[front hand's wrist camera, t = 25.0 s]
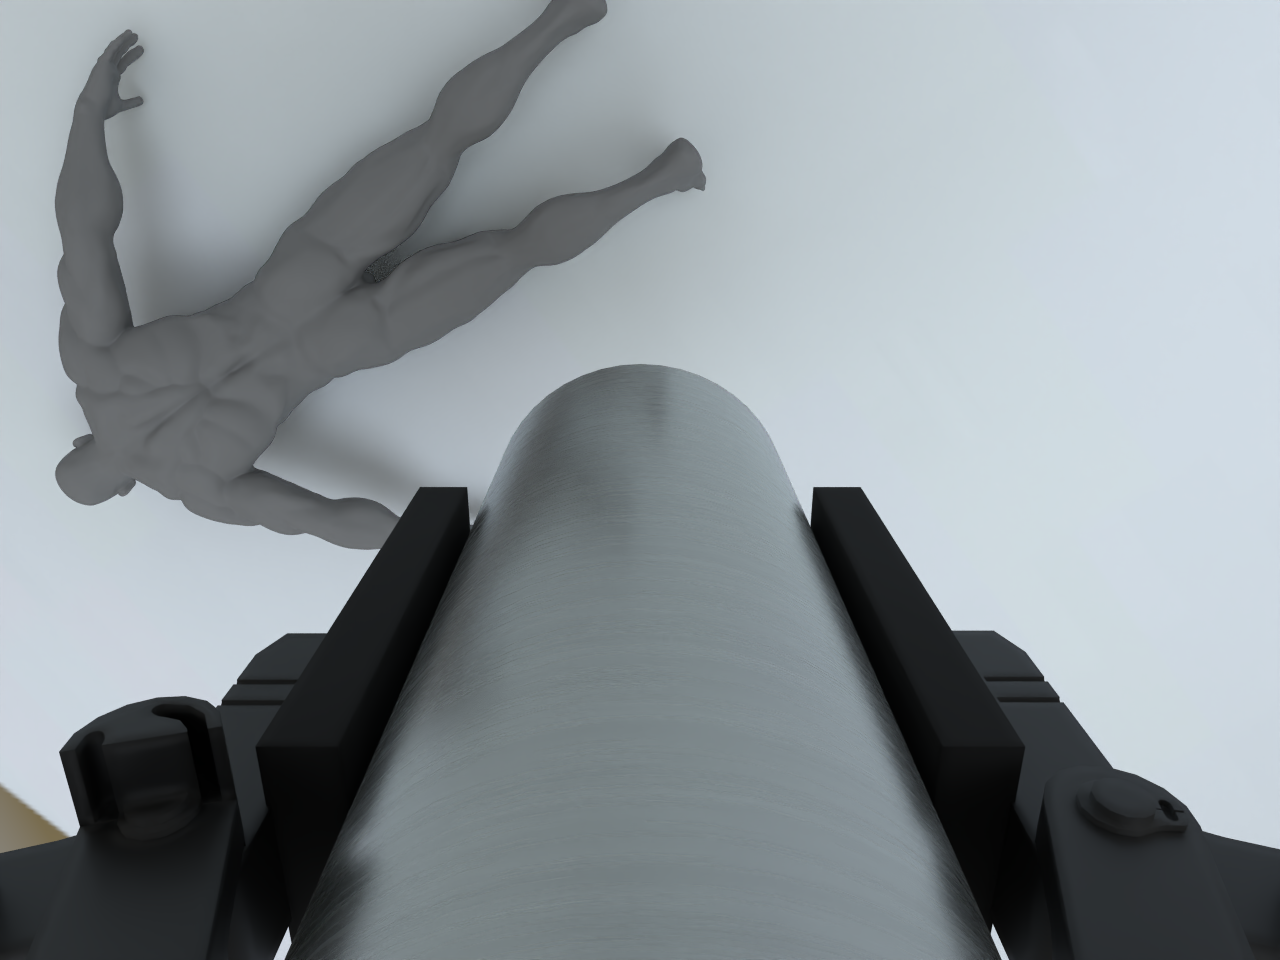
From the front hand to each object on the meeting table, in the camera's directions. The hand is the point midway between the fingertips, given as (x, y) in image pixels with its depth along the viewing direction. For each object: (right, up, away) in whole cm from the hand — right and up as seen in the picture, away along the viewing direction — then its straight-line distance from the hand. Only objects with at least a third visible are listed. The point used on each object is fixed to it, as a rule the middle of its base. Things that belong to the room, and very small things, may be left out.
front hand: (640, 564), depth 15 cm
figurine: (-8, +7, +12) cm, 16 cm away
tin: (0, +1, +2) cm, 3 cm away
